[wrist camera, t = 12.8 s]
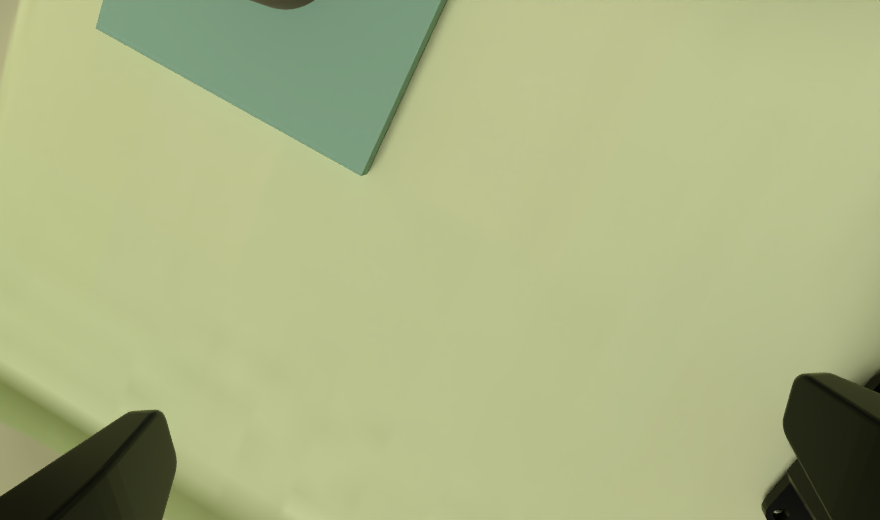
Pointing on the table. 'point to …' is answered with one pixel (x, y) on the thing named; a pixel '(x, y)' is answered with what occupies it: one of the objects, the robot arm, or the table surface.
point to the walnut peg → (284, 3)
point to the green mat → (290, 61)
